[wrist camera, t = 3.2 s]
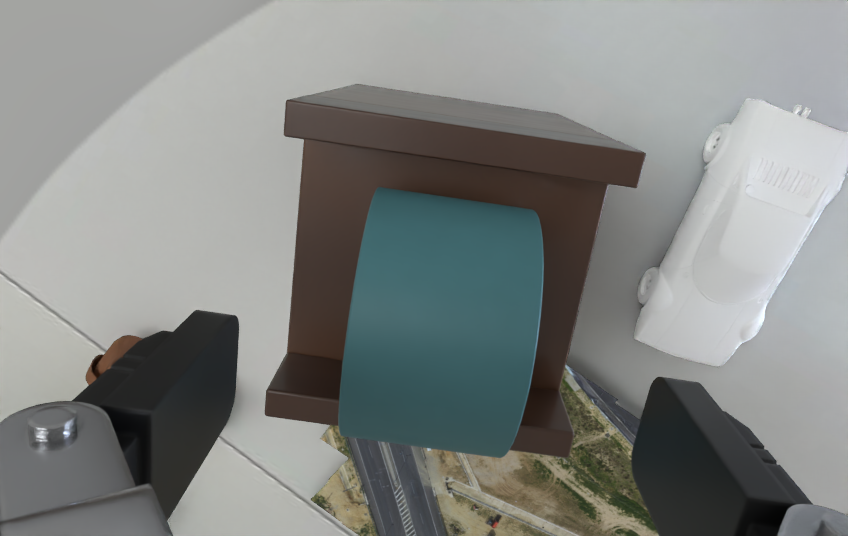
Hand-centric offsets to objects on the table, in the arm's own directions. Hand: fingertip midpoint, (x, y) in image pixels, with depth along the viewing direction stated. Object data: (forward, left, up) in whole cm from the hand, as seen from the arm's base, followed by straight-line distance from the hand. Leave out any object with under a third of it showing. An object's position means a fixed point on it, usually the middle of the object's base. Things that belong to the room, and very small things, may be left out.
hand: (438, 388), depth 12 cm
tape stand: (0, 0, -18) cm, 18 cm away
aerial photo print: (+16, +8, -18) cm, 25 cm away
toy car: (0, +13, -18) cm, 22 cm away
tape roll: (0, 0, -8) cm, 8 cm away
